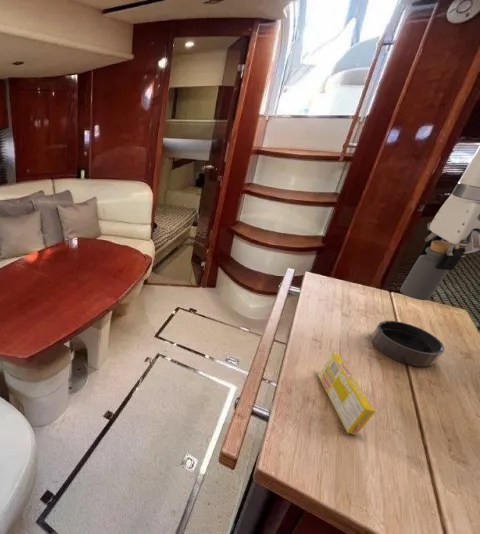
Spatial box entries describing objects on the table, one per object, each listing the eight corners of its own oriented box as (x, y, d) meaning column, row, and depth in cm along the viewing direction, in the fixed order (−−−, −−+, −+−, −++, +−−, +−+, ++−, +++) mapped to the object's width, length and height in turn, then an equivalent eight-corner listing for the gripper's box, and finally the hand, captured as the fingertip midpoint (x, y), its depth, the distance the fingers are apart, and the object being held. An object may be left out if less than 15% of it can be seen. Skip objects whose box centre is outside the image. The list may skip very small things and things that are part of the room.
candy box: (358, 436, 64) (376, 412, 60) (346, 433, 65) (363, 409, 61) (326, 376, 78) (339, 353, 74) (316, 374, 78) (329, 351, 74)
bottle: (401, 285, 86) (430, 237, 78) (431, 294, 82) (464, 244, 74) (397, 293, 83) (427, 243, 75) (427, 303, 79) (462, 251, 71)
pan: (414, 338, 89) (423, 325, 86) (446, 372, 78) (457, 358, 76) (361, 330, 92) (369, 317, 90) (385, 362, 81) (394, 348, 79)
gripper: (537, 206, 60) (480, 282, 69) (470, 183, 74) (430, 249, 83) (487, 203, 62) (438, 278, 71) (431, 182, 76) (396, 246, 85)
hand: (434, 262), depth 77 cm, fingers closed on bottle, 5 cm apart
